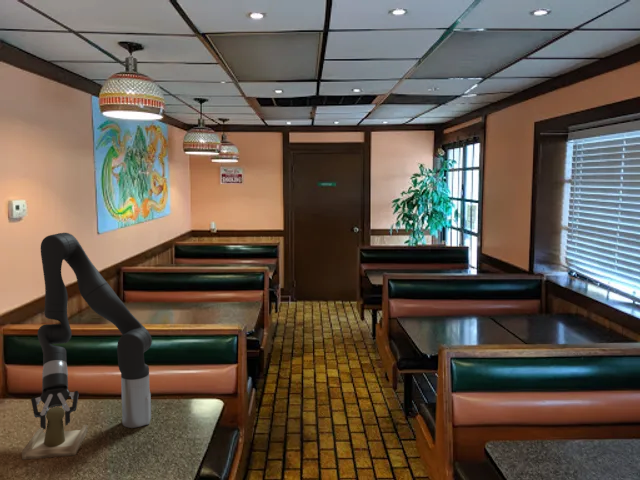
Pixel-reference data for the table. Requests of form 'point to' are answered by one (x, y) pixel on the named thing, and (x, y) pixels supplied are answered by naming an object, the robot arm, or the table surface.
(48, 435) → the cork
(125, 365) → the robot arm
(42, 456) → the beige square tray
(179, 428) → the table surface
